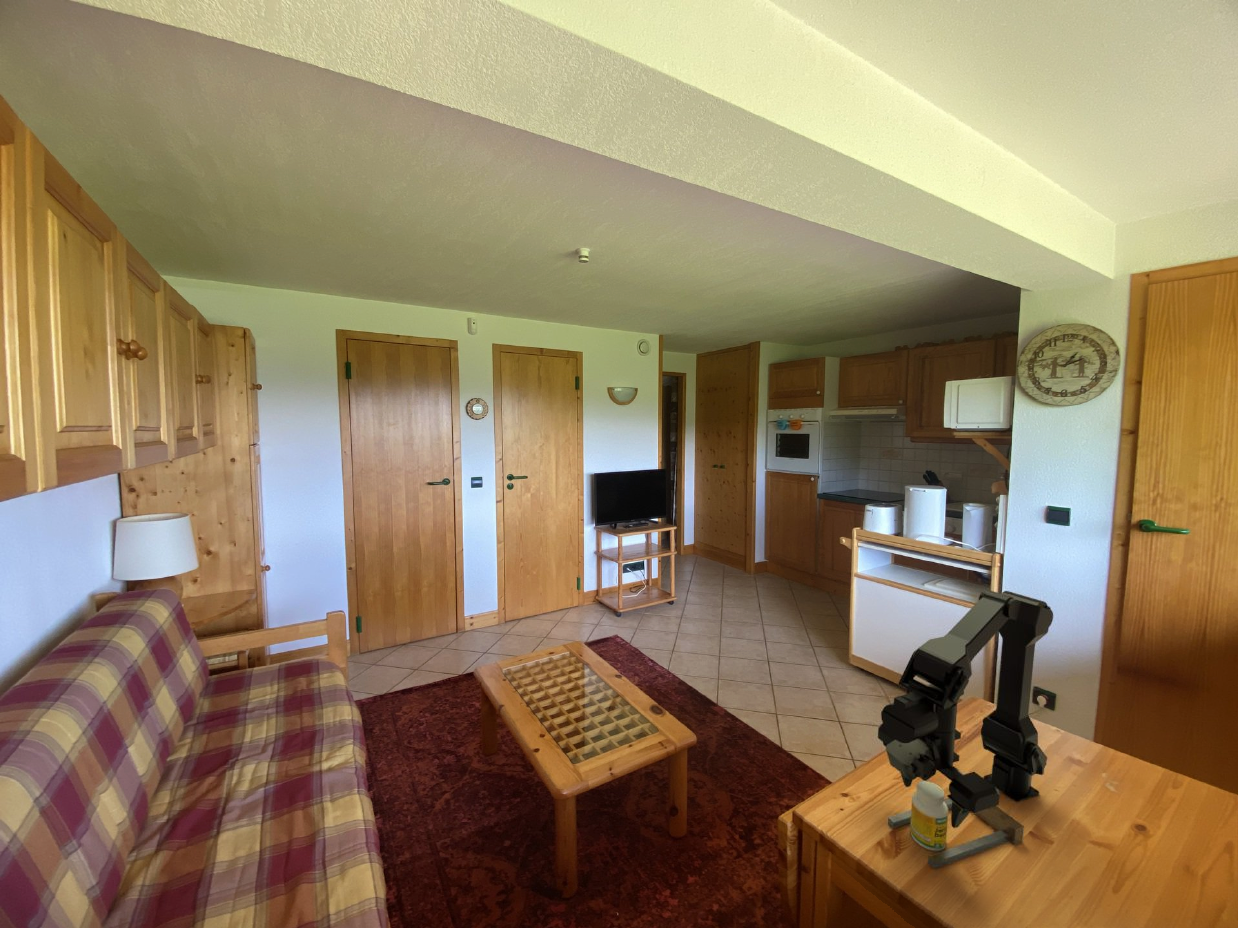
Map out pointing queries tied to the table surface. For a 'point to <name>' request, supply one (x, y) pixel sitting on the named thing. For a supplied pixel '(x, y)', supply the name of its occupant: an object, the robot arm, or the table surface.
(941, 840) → the supplement bottle
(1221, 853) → the table surface
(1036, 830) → the table surface
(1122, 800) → the table surface
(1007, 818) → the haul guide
